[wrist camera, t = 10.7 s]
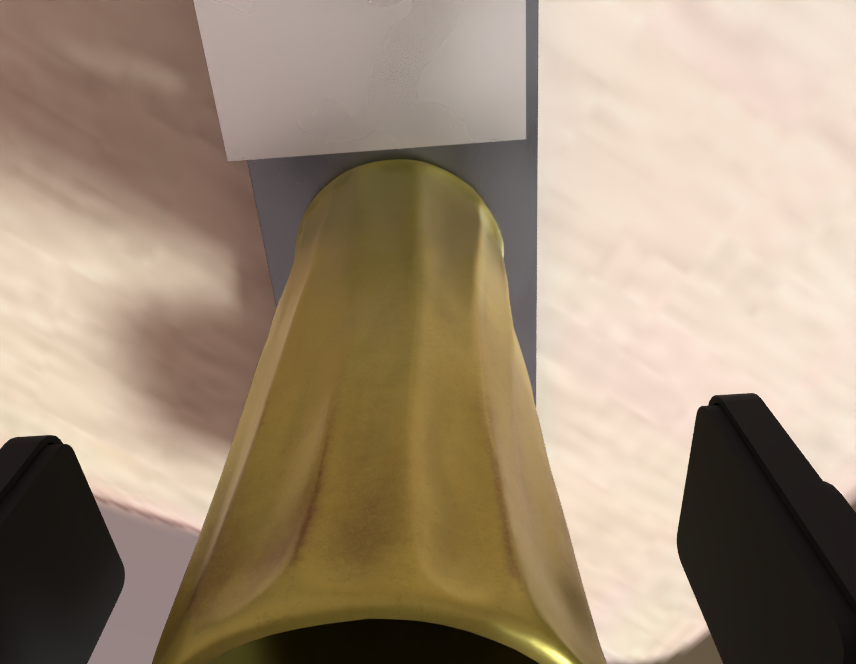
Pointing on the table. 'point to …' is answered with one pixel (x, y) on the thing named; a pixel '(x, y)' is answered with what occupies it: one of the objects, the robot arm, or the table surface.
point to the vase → (387, 457)
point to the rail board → (382, 109)
